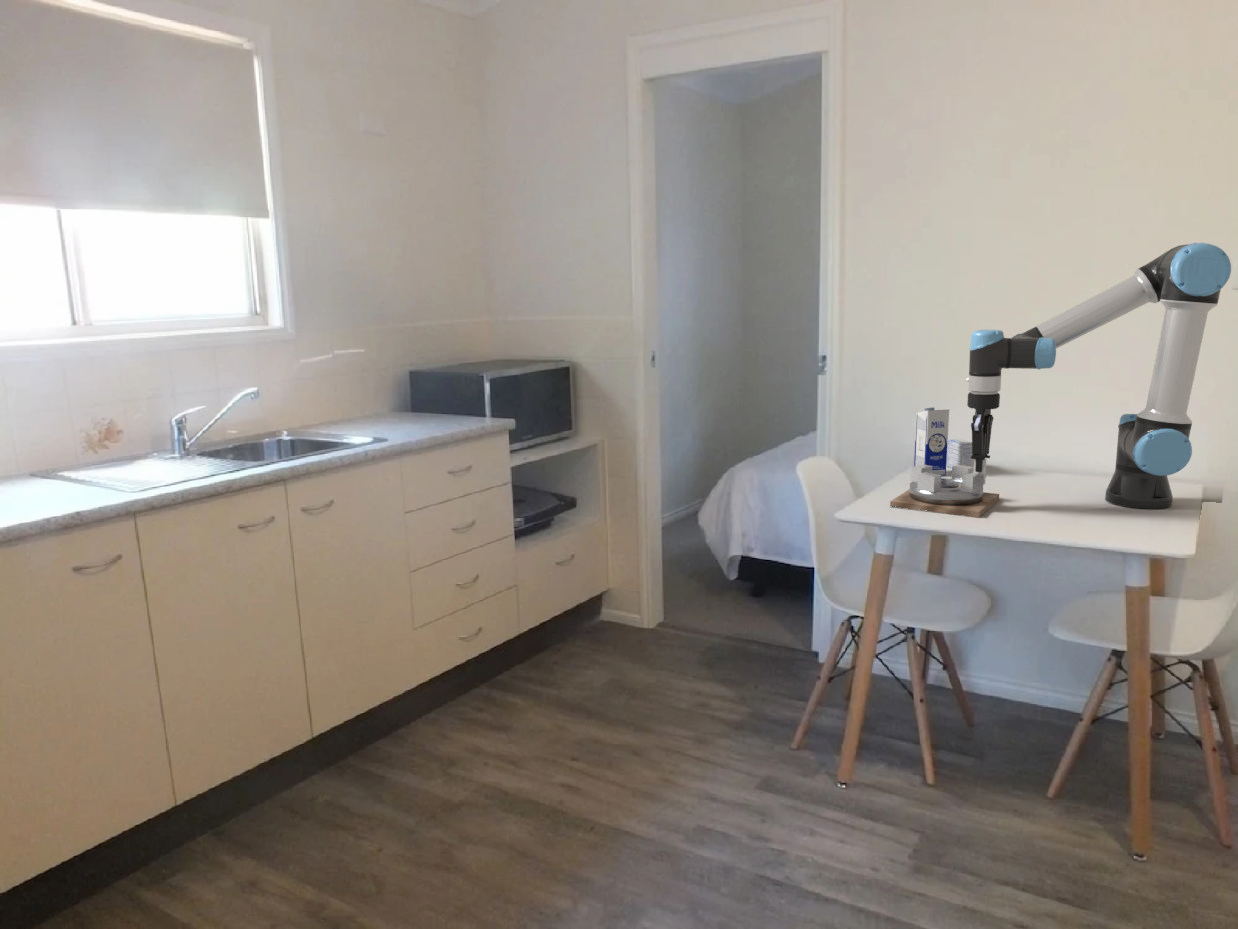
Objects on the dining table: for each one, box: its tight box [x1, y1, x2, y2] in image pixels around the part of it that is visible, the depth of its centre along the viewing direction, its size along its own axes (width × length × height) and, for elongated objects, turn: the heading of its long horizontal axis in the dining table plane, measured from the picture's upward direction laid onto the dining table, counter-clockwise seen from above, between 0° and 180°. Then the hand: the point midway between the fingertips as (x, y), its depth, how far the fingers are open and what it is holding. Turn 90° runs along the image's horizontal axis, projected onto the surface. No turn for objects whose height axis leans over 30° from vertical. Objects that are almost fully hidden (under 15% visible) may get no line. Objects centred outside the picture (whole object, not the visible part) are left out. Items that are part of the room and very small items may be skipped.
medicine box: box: [946, 438, 974, 469], centre depth 284 cm, size 8×4×9 cm, turn 14°
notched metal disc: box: [909, 464, 984, 505], centre depth 242 cm, size 18×18×7 cm
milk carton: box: [913, 407, 950, 477], centre depth 277 cm, size 7×7×20 cm
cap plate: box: [889, 488, 1000, 518], centre depth 243 cm, size 22×22×2 cm
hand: (979, 483), depth 238 cm, fingers closed
